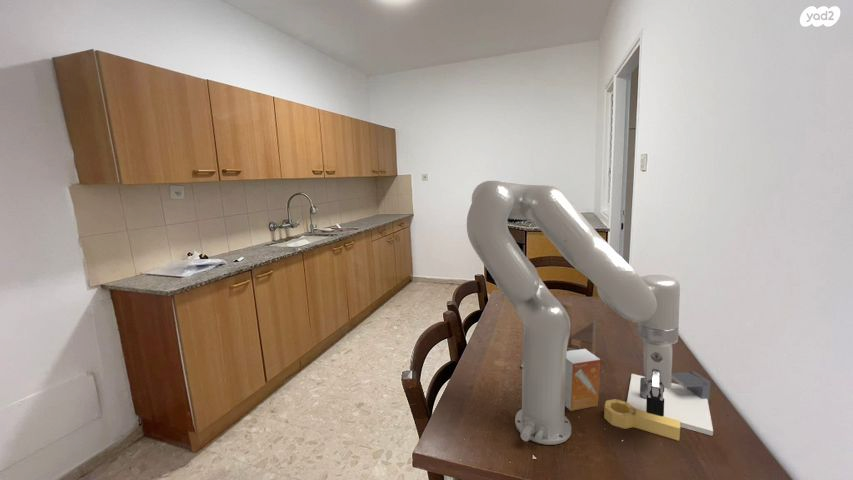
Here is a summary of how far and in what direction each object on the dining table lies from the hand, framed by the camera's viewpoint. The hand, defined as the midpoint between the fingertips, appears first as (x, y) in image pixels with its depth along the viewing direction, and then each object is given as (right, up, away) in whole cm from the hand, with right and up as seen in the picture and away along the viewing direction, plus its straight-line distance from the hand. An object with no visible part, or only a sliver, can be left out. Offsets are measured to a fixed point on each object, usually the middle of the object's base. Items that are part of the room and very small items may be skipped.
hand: (655, 401), depth 82 cm
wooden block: (-4, -2, +34) cm, 34 cm away
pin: (+4, -5, +11) cm, 13 cm away
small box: (-13, -6, +12) cm, 18 cm away
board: (+9, -5, +10) cm, 14 cm away
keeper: (+16, -4, +12) cm, 20 cm away
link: (-2, -6, +2) cm, 7 cm away
